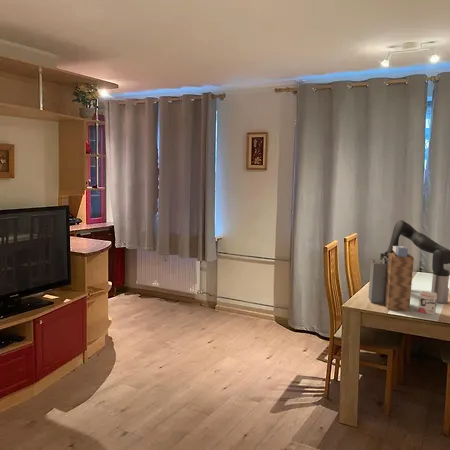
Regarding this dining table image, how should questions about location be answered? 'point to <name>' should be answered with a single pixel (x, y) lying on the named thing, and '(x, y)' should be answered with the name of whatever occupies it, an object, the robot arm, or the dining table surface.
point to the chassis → (378, 282)
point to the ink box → (427, 302)
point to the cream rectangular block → (400, 251)
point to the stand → (399, 282)
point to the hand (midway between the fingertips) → (393, 253)
